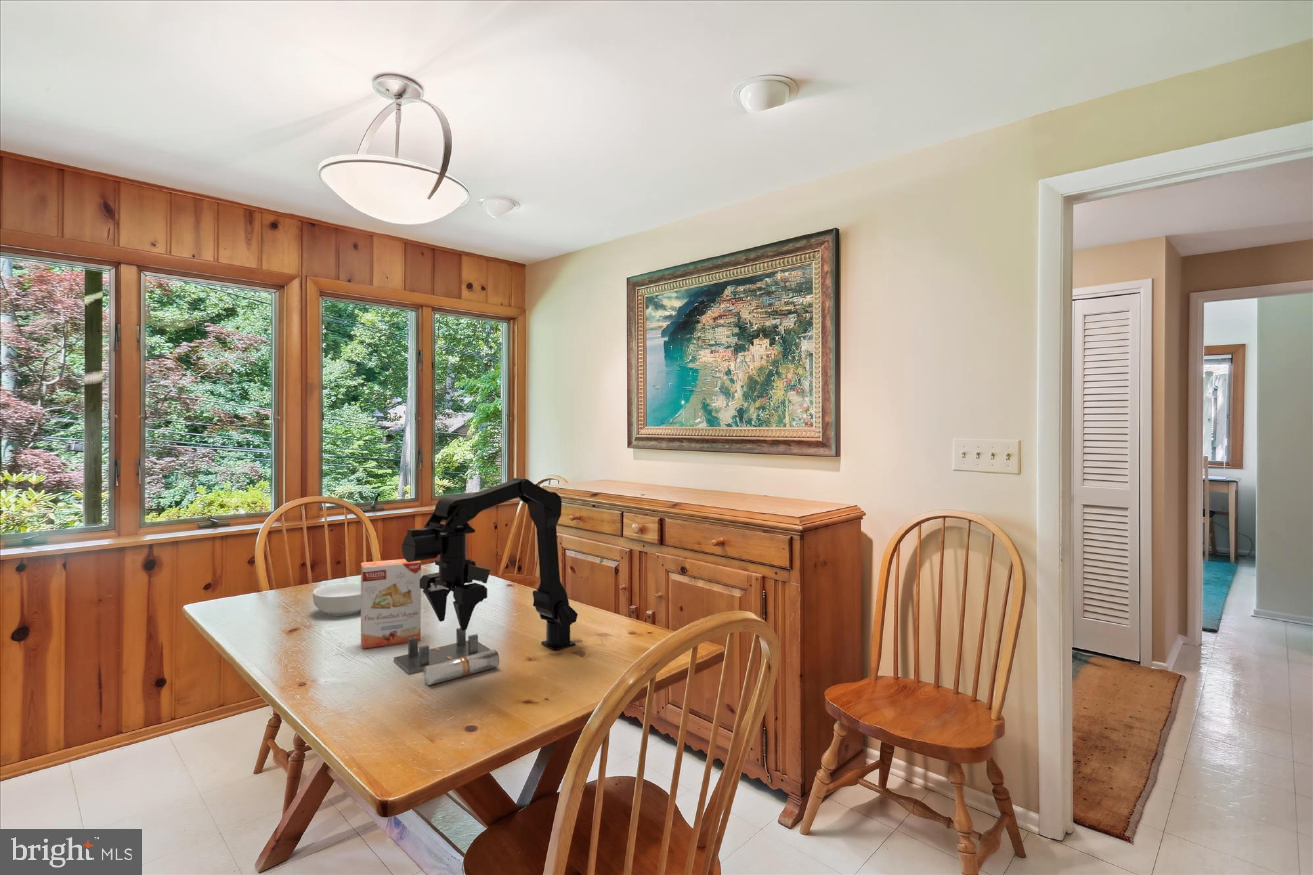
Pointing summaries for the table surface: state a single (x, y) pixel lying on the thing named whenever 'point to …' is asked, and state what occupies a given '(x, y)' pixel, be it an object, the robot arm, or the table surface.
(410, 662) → the stand
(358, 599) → the cereal bowl
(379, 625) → the cracker box
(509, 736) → the table surface
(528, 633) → the table surface
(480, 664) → the tube
